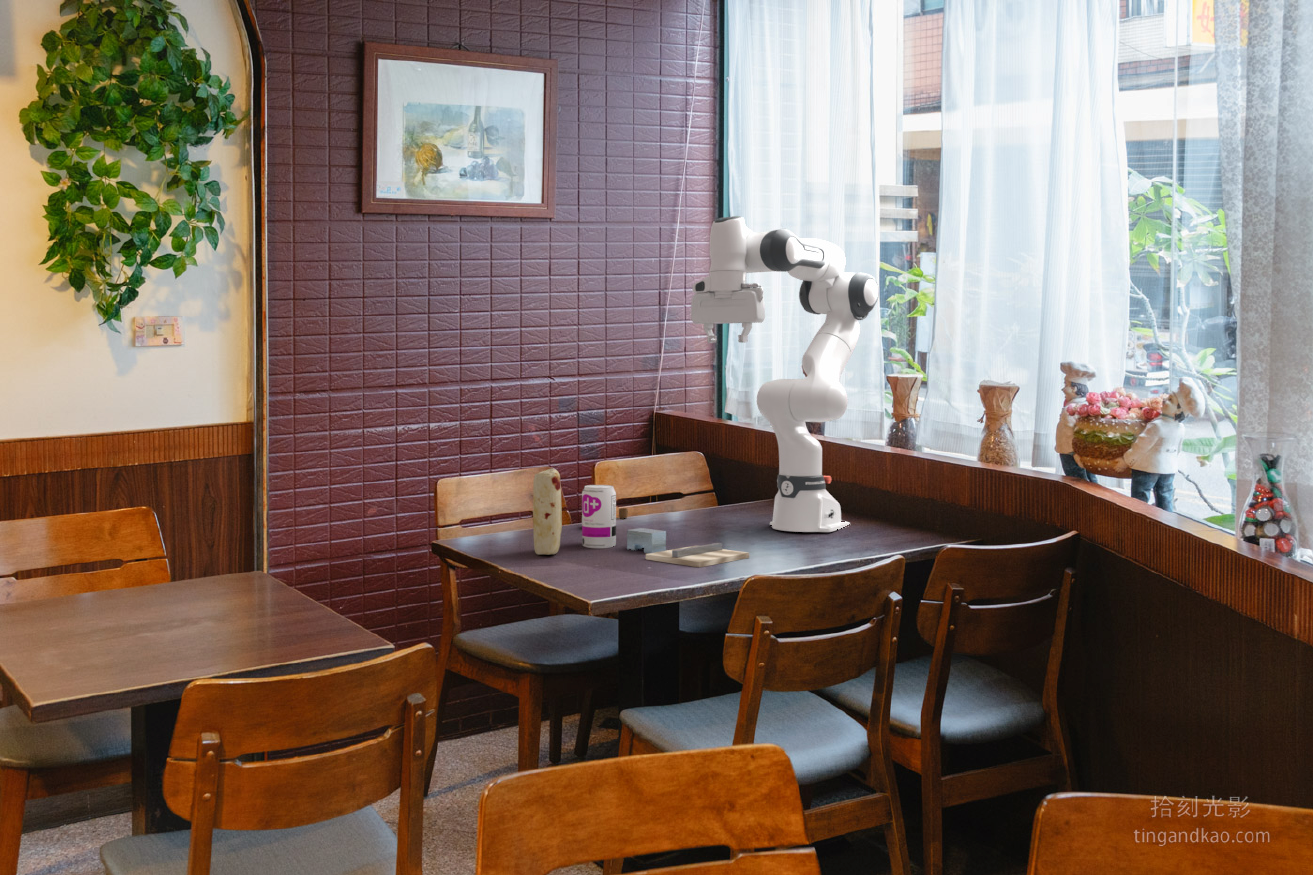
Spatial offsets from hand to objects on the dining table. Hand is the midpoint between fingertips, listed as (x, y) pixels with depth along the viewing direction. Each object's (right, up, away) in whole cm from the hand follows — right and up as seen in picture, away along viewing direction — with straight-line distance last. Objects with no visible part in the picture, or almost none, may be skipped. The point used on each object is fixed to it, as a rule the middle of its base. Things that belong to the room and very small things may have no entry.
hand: (727, 342), depth 286 cm
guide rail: (-7, -49, -11) cm, 51 cm away
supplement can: (-31, -50, +5) cm, 59 cm away
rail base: (-7, -51, -11) cm, 52 cm away
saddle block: (-19, -50, 0) cm, 53 cm away
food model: (-42, -50, -5) cm, 66 cm away
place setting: (-29, -49, +29) cm, 64 cm away
